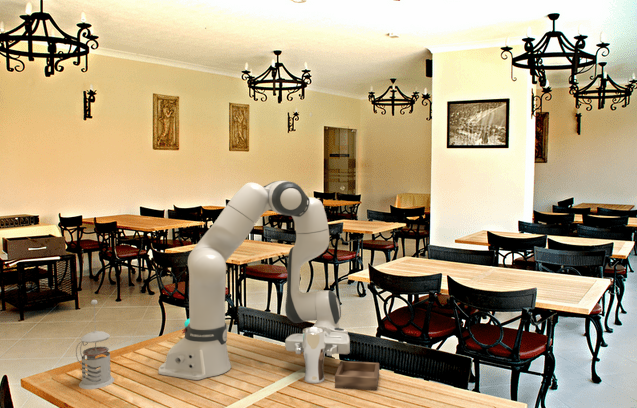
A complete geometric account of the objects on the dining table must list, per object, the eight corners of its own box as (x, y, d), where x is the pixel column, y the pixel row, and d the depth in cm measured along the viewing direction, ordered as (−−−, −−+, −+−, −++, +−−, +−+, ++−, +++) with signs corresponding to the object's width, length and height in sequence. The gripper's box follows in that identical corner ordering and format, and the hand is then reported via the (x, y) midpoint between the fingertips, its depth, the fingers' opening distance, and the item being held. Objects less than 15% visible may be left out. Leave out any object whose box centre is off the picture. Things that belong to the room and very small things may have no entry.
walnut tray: (335, 387, 143) (334, 375, 143) (340, 371, 155) (340, 360, 155) (376, 390, 141) (376, 378, 141) (379, 374, 153) (379, 363, 153)
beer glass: (323, 385, 145) (323, 334, 145) (300, 383, 147) (299, 333, 146) (327, 375, 152) (327, 327, 152) (305, 374, 154) (305, 326, 153)
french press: (98, 390, 143) (95, 304, 142) (66, 386, 147) (63, 302, 145) (121, 377, 152) (119, 297, 151) (91, 373, 156) (88, 294, 155)
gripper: (290, 326, 164) (279, 340, 150) (352, 329, 160) (346, 343, 146) (290, 345, 164) (279, 360, 150) (352, 349, 160) (347, 364, 147)
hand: (313, 352), depth 148 cm, fingers open, 8 cm apart
